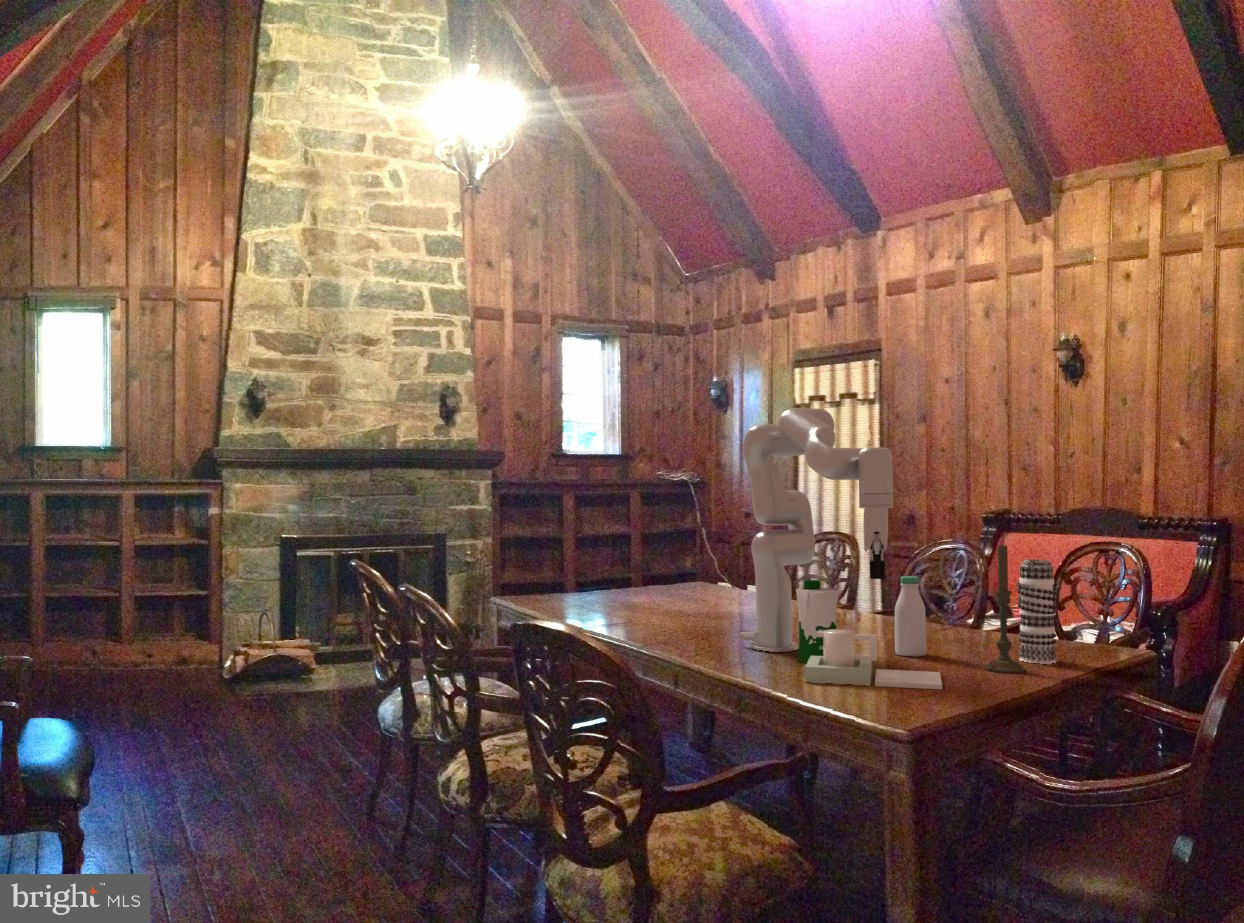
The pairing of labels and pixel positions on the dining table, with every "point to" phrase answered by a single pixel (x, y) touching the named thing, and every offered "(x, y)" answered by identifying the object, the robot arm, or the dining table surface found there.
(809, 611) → the milk carton
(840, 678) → the holder
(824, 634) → the capsule with loop handle
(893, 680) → the tile
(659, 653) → the dining table surface
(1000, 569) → the candlestick holder
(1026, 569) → the decorative candle
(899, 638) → the milk bottle
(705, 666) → the dining table surface
